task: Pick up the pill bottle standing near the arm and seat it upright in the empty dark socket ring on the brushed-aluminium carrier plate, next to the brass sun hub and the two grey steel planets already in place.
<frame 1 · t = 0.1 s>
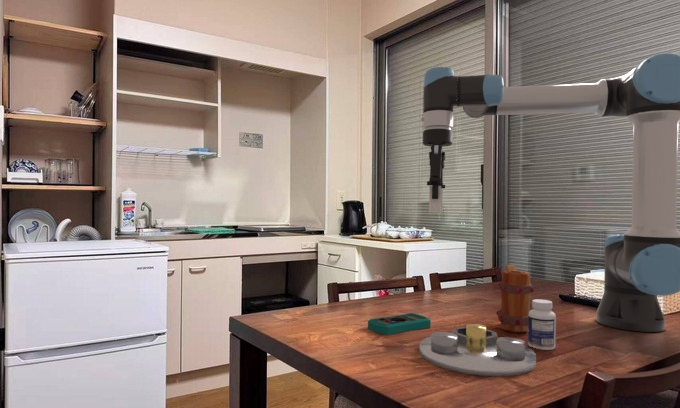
hand: (436, 212, 119), 28 cm above the table, fingers open, 13 cm apart
carrier: (475, 356, 92), on the table
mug: (512, 328, 115), on the table
digital multimeter: (399, 330, 113), on the table
pill bottle: (541, 347, 100), on the table
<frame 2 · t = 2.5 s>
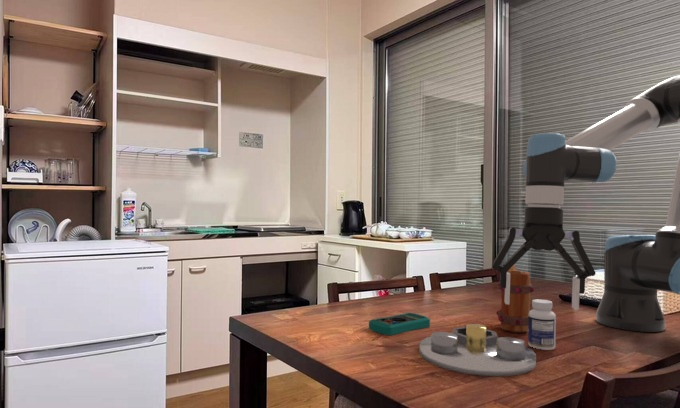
hand: (540, 306, 99), 9 cm above the table, fingers open, 13 cm apart
nothing on the table moved.
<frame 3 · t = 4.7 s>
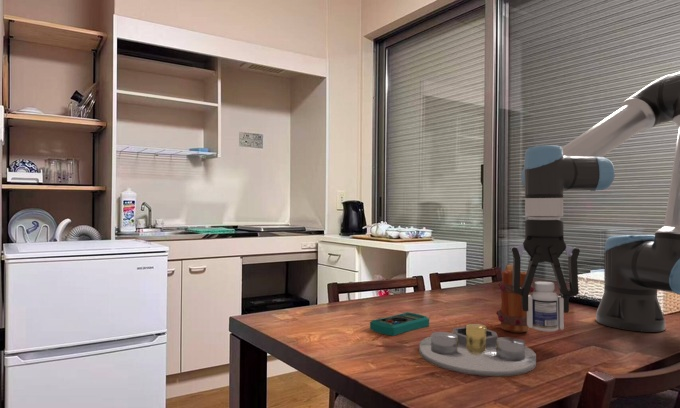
hand: (544, 326, 100), 4 cm above the table, fingers closed on pill bottle, 5 cm apart
pill bottle: (544, 329, 100), point 4 cm above the table, touching gripper
everything else where it was.
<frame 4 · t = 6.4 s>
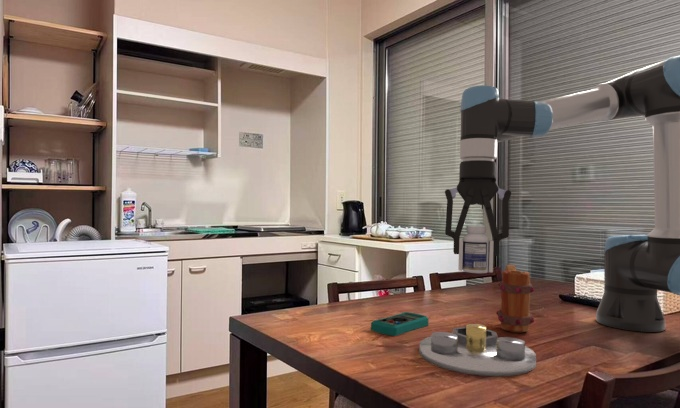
hand: (475, 270, 99), 16 cm above the table, fingers closed on pill bottle, 5 cm apart
pill bottle: (475, 272, 99), point 16 cm above the table, touching gripper
everything else where it was.
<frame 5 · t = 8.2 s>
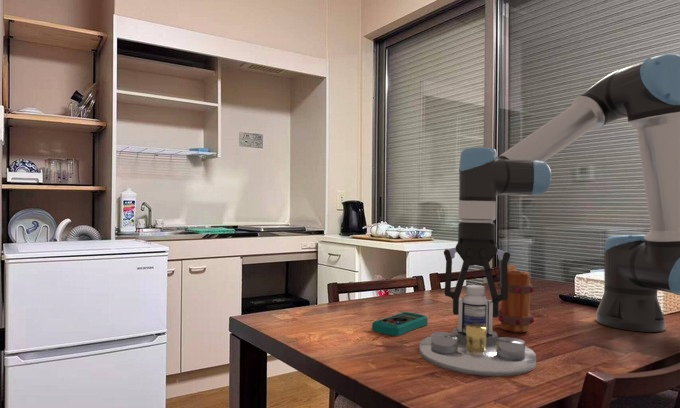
hand: (474, 331, 98), 3 cm above the table, fingers closed on pill bottle, 5 cm apart
pill bottle: (474, 333, 98), point 3 cm above the table, touching gripper
when the fingers open (3 cm above the table, at t = 8.3 s): pill bottle drops 1 cm, resting on carrier.
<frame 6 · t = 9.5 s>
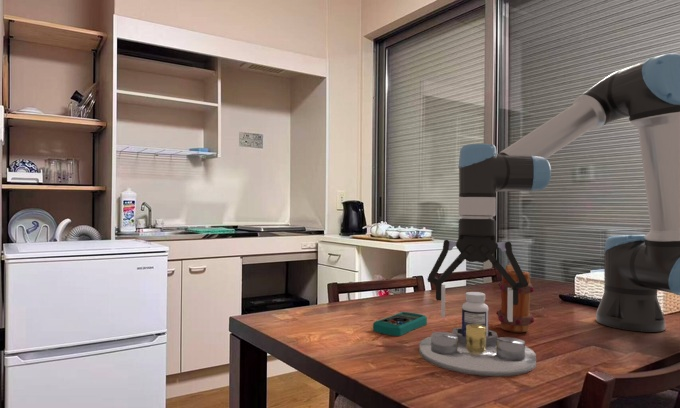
hand: (475, 318, 99), 6 cm above the table, fingers open, 13 cm apart
pill bottle: (474, 340, 98), point 1 cm above the table, touching carrier
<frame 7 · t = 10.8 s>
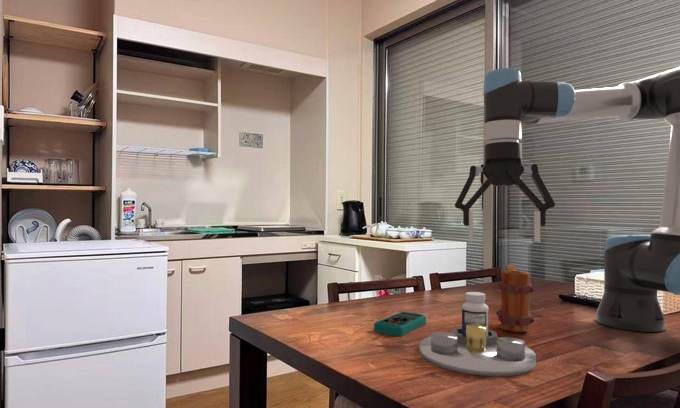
hand: (503, 241, 100), 22 cm above the table, fingers open, 13 cm apart
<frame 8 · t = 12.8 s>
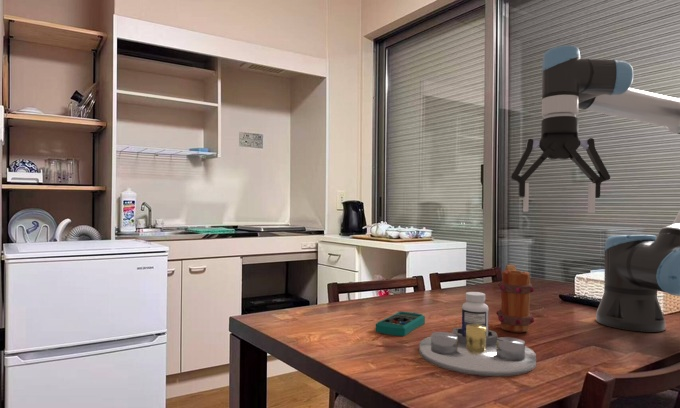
hand: (558, 212, 105), 29 cm above the table, fingers open, 13 cm apart
at the end: pill bottle 0.1 cm from the target spot on the carrier, point 1.3 cm above the carrier's base; pill bottle tilted 0°; the gripper is holding nothing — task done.
